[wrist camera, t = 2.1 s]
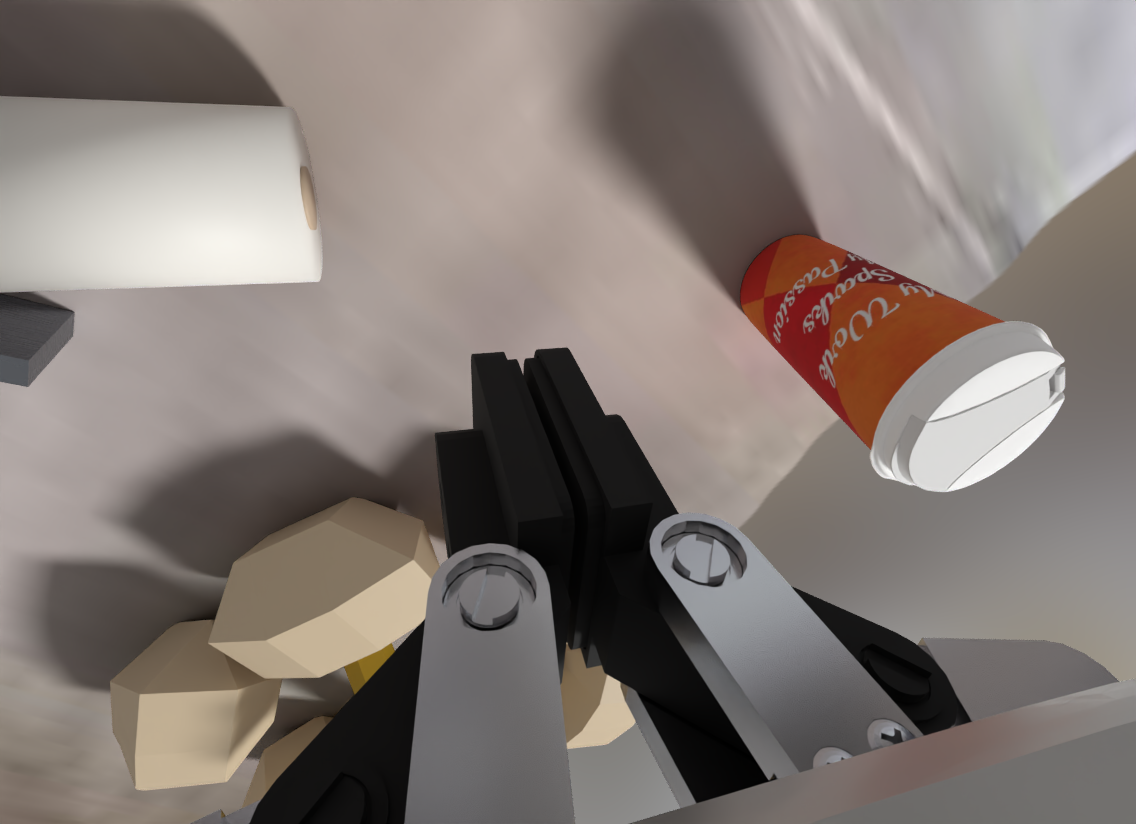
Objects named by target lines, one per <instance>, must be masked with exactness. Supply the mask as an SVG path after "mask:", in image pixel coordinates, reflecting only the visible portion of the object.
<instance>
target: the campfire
mask: <svg viewBox="0 0 1136 824" xmlns="http://www.w3.org/2000/svg"><path fill="white" fill-rule="evenodd" d="M439 567H440V566H439V563H438V560H437V558H436V555H435V552H434V549H433V547H432V544H431V541H430V538H429V536H428V533H427V530H426V527H425V525H424V522H423V520H420V519H417V518H414V517H412V516H409V515H406V514H404V513H401V512H398V511H395V510H393V509H390V508H387V507H384V506H382V505H379V504H376V503H374V502H371V501H368V500H365V499H361V498H355V497H351V498H349V499H347V500H345V501H343V502H340V503H338V504H336V505H334V506H332V507H329V508H327V509H325V510H323V511H320V512H318V513H316V514H314V515H312V516H309V517H307V518H305V519H303V520H301V521H298V522H296V523H294V524H292V525H289V526H287V527H285V528H283V529H281V530H278V531H276V532H274V533H272V534H270V535H268V536H267V537H266V538H264V539H263V540H262V541H260V542H259V543H258V544H257V545H255V546H254V547H253V548H252V549H250V550H249V551H248V552H246V553H245V554H244V555H243V556H241V557H240V558H239V559H238V560H236V561H235V562H234V563H233V565H232V568H231V571H230V574H229V578H228V581H227V584H226V587H225V590H224V593H223V597H222V600H221V603H220V606H219V609H218V612H217V616H216V619H215V620H201V621H189V622H179V623H177V624H175V625H173V626H171V627H170V628H169V629H168V630H166V631H165V632H164V633H163V634H162V635H161V636H160V637H159V638H158V639H156V640H155V641H154V642H153V643H152V644H151V645H150V646H149V647H148V648H146V649H145V650H144V651H143V652H142V653H141V654H140V655H139V656H138V657H136V658H135V659H134V660H133V661H132V662H131V663H130V664H129V665H128V666H126V667H125V668H124V669H123V670H122V671H121V672H120V673H119V674H118V675H116V676H115V677H114V678H113V679H112V680H111V681H110V691H111V708H112V726H113V733H114V735H115V737H116V739H117V741H118V743H119V745H120V747H121V750H122V752H123V755H124V758H125V761H126V763H127V766H128V769H129V772H130V774H131V777H132V780H133V783H134V786H135V788H136V789H138V790H154V789H163V788H173V787H183V786H192V785H202V784H212V783H221V782H227V781H228V779H229V778H230V777H231V776H232V774H233V773H234V772H235V771H236V769H237V768H238V767H239V765H240V764H241V763H242V762H243V760H244V759H245V758H246V756H247V755H248V754H249V753H250V751H251V750H252V749H253V748H254V746H255V745H256V744H257V742H258V741H259V740H260V739H261V737H262V736H263V735H264V733H265V732H266V731H267V730H268V728H269V727H270V726H271V725H272V723H273V722H274V718H275V713H276V708H277V703H278V698H279V693H280V687H281V682H282V678H320V677H322V676H324V675H326V674H328V673H331V672H333V671H335V670H337V669H339V668H342V667H344V668H345V671H346V673H347V676H348V679H349V681H350V684H351V687H352V690H353V692H354V695H355V694H356V693H357V692H358V691H359V690H360V688H361V687H362V686H363V685H364V684H365V683H366V682H367V681H368V680H369V679H370V678H371V677H372V675H373V674H374V673H375V672H376V671H377V670H378V669H379V668H380V667H381V666H382V665H383V664H384V662H385V661H386V660H387V659H388V658H389V657H390V656H391V655H392V654H393V653H394V652H395V651H394V648H393V645H392V642H393V641H395V640H397V639H398V638H400V637H401V636H403V635H404V634H406V633H407V632H409V631H410V630H412V629H414V628H415V627H417V626H418V625H420V624H421V622H422V621H423V620H424V619H425V616H426V606H427V596H428V590H429V587H430V584H431V580H432V577H433V576H434V574H435V573H436V571H437V570H438V569H439ZM560 687H561V696H562V706H563V715H564V724H565V733H566V743H567V749H569V748H579V747H588V746H597V745H606V744H608V743H610V742H611V741H613V740H614V739H615V738H617V737H618V736H620V735H621V734H622V733H624V732H625V731H626V730H628V729H629V728H631V727H632V726H633V725H634V723H635V722H636V721H635V719H634V717H633V715H632V713H631V711H630V709H629V707H628V706H627V704H626V702H625V699H624V696H623V693H622V690H621V688H620V682H619V681H618V680H616V679H614V678H612V677H610V676H609V675H607V674H605V673H604V671H603V668H602V665H600V666H596V667H591V668H586V665H585V662H584V659H583V655H582V652H581V649H580V648H579V649H574V650H571V649H570V648H569V646H568V644H567V643H566V652H565V661H564V669H563V678H562V683H561V685H560ZM332 719H333V718H332V717H326V716H320V717H317V718H314V719H312V720H310V721H309V722H307V723H306V724H304V725H303V726H301V727H299V728H298V729H296V730H295V731H293V732H291V733H290V734H288V735H287V736H285V737H283V738H282V739H280V740H279V741H277V742H275V743H274V744H272V745H271V746H269V747H267V748H266V749H264V751H263V753H262V756H261V758H260V761H259V764H258V766H257V769H256V772H255V774H254V777H253V779H252V782H251V785H250V787H249V790H248V793H247V795H246V798H245V800H244V803H243V806H242V808H244V807H246V806H248V805H250V804H252V803H254V802H256V801H258V800H261V799H262V798H263V797H264V795H265V794H266V792H267V791H268V790H269V788H270V787H271V786H272V784H273V783H274V782H275V780H276V779H277V778H278V777H279V776H280V775H281V774H282V773H283V772H284V771H285V769H286V768H287V767H288V766H289V765H290V764H291V763H292V762H293V761H294V760H295V759H296V758H297V757H298V755H299V754H300V753H301V752H302V751H303V750H304V749H305V748H306V747H307V746H308V745H309V744H310V742H311V741H312V740H313V739H314V738H315V737H316V736H317V735H318V734H319V733H320V732H321V731H322V729H323V728H324V727H325V726H326V725H327V724H328V723H329V722H330V721H331V720H332ZM242 808H241V809H242Z"/></svg>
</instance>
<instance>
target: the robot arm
mask: <svg viewBox="0 0 1136 824" xmlns="http://www.w3.org/2000/svg"><path fill="white" fill-rule="evenodd" d="M471 374H472V404H473V429H469V430H459V431H449V432H439V433H435V442H436V455H437V467H438V478H439V488H440V498H441V507H442V516H443V524H444V532H445V540H446V548H447V556H448V559H447V560H446V561H445V562H443V563H442V564H441V566H440V567H439V569H438V570H437V571H436V573H435V574H434V576H433V577H432V580H431V584H430V587H429V590H428V596H427V606H426V616H425V619H424V620H423V621H422V622H421V624H420V625H419V626H418V627H417V628H416V629H415V630H414V631H413V632H412V633H411V634H410V635H409V637H408V638H407V639H406V640H405V641H404V642H403V643H402V644H401V645H400V646H399V647H398V648H397V650H396V651H395V652H394V653H393V654H392V655H391V656H390V657H389V658H388V659H387V660H386V661H385V662H384V664H383V665H382V666H381V667H380V668H379V669H378V670H377V671H376V672H375V673H374V674H373V675H372V677H371V678H370V679H369V680H368V681H367V682H366V683H365V684H364V685H363V686H362V687H361V688H360V690H359V691H358V692H357V693H356V694H355V695H354V696H353V697H352V698H351V699H350V700H349V701H348V702H347V704H346V705H345V706H344V707H343V708H342V709H341V710H340V711H339V712H338V713H337V714H336V715H335V717H334V718H333V719H332V720H331V721H330V722H329V723H328V724H327V725H326V726H325V727H324V728H323V729H322V731H321V732H320V733H319V734H318V735H317V736H316V737H315V738H314V739H313V740H312V741H311V742H310V744H309V745H308V746H307V747H306V748H305V749H304V750H303V751H302V752H301V753H300V754H299V755H298V757H297V758H296V759H295V760H294V761H293V762H292V763H291V764H290V765H289V766H288V767H287V768H286V769H285V771H284V772H283V773H282V774H281V775H280V776H279V777H278V778H277V779H276V780H275V782H274V783H273V784H272V786H271V787H270V788H269V790H268V791H267V792H266V794H265V795H264V797H263V798H262V799H261V800H258V801H256V802H254V803H252V804H250V805H248V806H246V807H244V808H242V809H240V810H237V811H235V812H233V813H231V814H229V815H227V816H225V815H224V813H223V812H222V810H221V809H220V810H218V811H216V812H214V813H211V814H209V815H207V816H205V817H203V818H201V819H199V820H197V821H194V822H192V823H190V824H575V817H574V807H573V798H572V789H571V780H570V770H569V761H568V752H567V743H566V733H565V724H564V715H563V706H562V696H561V687H560V685H561V683H562V678H563V669H564V661H565V652H566V643H567V644H568V646H569V648H570V649H571V650H574V649H579V648H580V649H581V652H582V655H583V659H584V662H585V665H586V668H591V667H596V666H600V665H602V668H603V671H604V673H605V674H607V675H609V676H610V677H612V678H614V679H616V680H618V681H619V682H620V688H621V690H622V693H623V696H624V699H625V702H626V704H627V706H628V707H629V709H630V711H631V713H632V715H633V717H634V719H635V721H636V723H637V725H638V727H639V729H640V730H641V733H642V734H643V736H644V738H645V740H646V742H647V744H648V746H649V748H650V750H651V752H652V754H653V756H654V758H655V760H656V762H657V763H658V765H659V767H660V769H661V771H662V773H663V775H664V777H665V779H666V781H667V783H668V785H669V787H670V789H671V791H672V792H673V794H674V797H675V798H676V800H677V802H678V804H679V806H680V809H677V810H673V811H670V812H667V813H664V814H660V815H657V816H654V817H650V818H647V819H643V820H640V821H637V822H633V823H630V824H1136V679H1131V680H1126V681H1121V682H1119V681H1118V680H1117V679H1116V678H1115V677H1114V676H1113V675H1112V674H1111V673H1110V672H1109V671H1108V670H1107V669H1106V668H1105V667H1103V666H1102V665H1101V664H1099V663H1098V662H1096V661H1094V660H1093V659H1092V658H1090V657H1089V656H1087V655H1086V654H1084V653H1082V652H1080V651H1078V650H1075V649H1073V648H1071V647H1069V646H1066V645H1064V644H1061V643H1055V642H1050V641H1044V640H1043V641H1042V640H999V639H954V638H922V639H921V640H920V642H919V643H918V645H916V644H915V643H913V642H912V641H910V640H908V639H907V638H904V637H903V636H901V635H899V634H898V633H896V632H893V631H891V630H889V629H887V628H884V627H882V626H880V625H877V624H875V623H873V622H871V621H868V620H866V619H864V618H862V617H860V616H857V615H855V614H853V613H850V612H848V611H846V610H844V609H841V608H839V607H837V606H835V605H832V604H830V603H828V602H825V601H823V600H821V599H819V598H817V597H814V596H812V595H810V594H808V593H805V592H803V591H801V590H799V589H796V588H794V587H792V586H790V585H789V584H788V583H787V582H786V581H785V579H784V578H783V577H782V576H781V575H780V574H779V573H778V571H777V570H775V568H774V567H773V566H772V565H771V564H770V563H769V561H768V560H767V559H766V558H765V557H764V556H763V555H762V554H761V552H760V551H759V550H758V549H757V548H756V547H755V546H754V545H753V544H752V542H751V541H750V540H749V539H748V538H747V537H746V536H745V535H744V534H743V533H741V532H740V531H739V530H738V529H737V528H736V527H734V526H732V525H731V524H729V523H727V522H725V521H723V520H722V519H719V518H716V517H713V516H710V515H706V514H699V513H683V514H679V513H678V512H677V510H676V508H675V507H674V505H673V503H672V501H671V500H670V498H669V496H668V495H667V493H666V491H665V489H664V488H663V486H662V484H661V483H660V481H659V479H658V478H657V476H656V474H655V472H654V471H653V469H652V467H651V466H650V464H649V462H648V460H647V459H646V457H645V455H644V454H643V452H642V450H641V448H640V447H639V445H638V443H637V442H636V440H635V438H634V437H633V435H632V433H631V431H630V430H629V428H628V426H627V425H626V423H625V421H624V420H623V419H622V417H621V416H619V415H617V414H615V415H605V414H604V412H603V410H602V408H601V406H600V405H599V403H598V401H597V399H596V397H595V396H594V394H593V392H592V390H591V388H590V386H589V385H588V383H587V381H586V379H585V377H584V375H583V374H582V372H581V370H580V368H579V366H578V364H577V363H576V361H575V359H574V357H573V355H572V354H571V352H570V350H569V349H568V348H553V349H538V350H536V351H535V355H534V358H526V359H525V361H524V376H523V373H522V371H521V368H520V366H519V363H518V361H517V359H513V360H507V358H506V355H505V353H504V352H495V353H481V354H472V356H471Z"/></svg>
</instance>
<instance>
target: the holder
mask: <svg viewBox="0 0 1136 824" xmlns="http://www.w3.org/2000/svg"><path fill="white" fill-rule="evenodd" d="M73 326H74V312H71V311H67V310H63V309H59V308H55V307H51V306H47V305H43V304H39V303H35V302H31V301H27V300H23V299H19V298H15V297H11V296H7V295H3V294H0V382H5V383H10V384H15V385H21V386H26V387H28V386H29V385H30V384H31V383H32V382H33V381H34V380H35V378H36V377H37V376H38V375H39V374H40V373H41V372H42V370H43V369H44V368H45V367H46V366H47V365H48V364H49V363H50V361H51V360H52V359H53V358H54V357H55V356H56V355H57V354H58V352H59V351H60V350H61V349H62V348H63V347H64V346H65V344H66V343H67V342H68V341H69V340H70V339H71V338H72V337H73Z"/></svg>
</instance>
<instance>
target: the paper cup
mask: <svg viewBox="0 0 1136 824" xmlns="http://www.w3.org/2000/svg"><path fill="white" fill-rule="evenodd" d="M740 302H741V306H742V309H743V311H744V313H745V315H746V316H747V317H748V319H749V320H750V321H751V322H752V324H753V325H754V326H755V327H756V328H757V329H758V330H759V331H760V333H761V334H762V335H763V336H764V337H765V338H766V339H767V340H768V341H769V342H770V343H771V345H772V346H773V347H774V348H775V349H776V350H777V351H778V352H779V353H780V354H781V355H782V356H783V357H784V359H785V360H786V361H787V362H788V363H789V364H790V365H791V366H792V367H793V368H794V369H795V370H796V371H797V372H798V373H799V375H800V376H801V377H802V378H803V379H804V380H805V381H806V382H807V383H808V384H809V385H810V386H811V387H812V388H813V389H814V390H815V391H816V393H817V394H818V395H819V396H820V397H821V398H822V399H823V400H824V401H825V402H826V403H827V404H828V405H829V406H830V407H831V408H832V409H833V411H834V412H835V413H836V414H837V415H838V416H839V417H840V418H841V419H842V420H843V421H844V422H845V423H846V424H847V425H848V426H849V427H850V428H851V430H852V431H853V432H854V433H855V434H856V435H857V436H858V437H859V438H860V439H861V440H862V441H863V442H864V443H865V444H866V445H867V446H868V447H869V448H870V450H871V452H870V460H871V464H872V466H873V468H874V469H875V471H876V472H877V473H878V474H879V475H880V476H881V477H883V478H888V479H893V480H897V481H900V482H902V483H905V484H908V485H917V486H918V487H920V488H922V489H924V490H929V491H939V492H948V491H953V490H957V489H961V488H963V487H966V486H969V485H972V484H974V483H976V482H978V481H980V480H982V479H984V478H986V477H988V476H989V475H991V474H993V473H995V472H996V471H998V470H999V469H1001V468H1002V467H1004V466H1005V465H1007V464H1008V463H1009V462H1011V461H1012V460H1013V459H1015V458H1016V457H1017V456H1019V455H1020V454H1021V453H1022V452H1023V451H1024V450H1026V449H1027V448H1028V447H1029V446H1030V445H1031V444H1032V443H1033V442H1034V441H1035V440H1036V439H1037V438H1038V437H1039V436H1040V434H1041V433H1042V432H1043V431H1044V430H1045V429H1046V428H1047V426H1048V425H1049V423H1050V422H1051V421H1052V419H1053V418H1054V417H1055V415H1056V414H1057V412H1058V410H1059V408H1060V407H1061V405H1062V403H1063V401H1064V398H1065V397H1064V394H1063V393H1062V391H1063V390H1064V388H1065V367H1061V368H1060V364H1061V363H1063V362H1064V358H1063V357H1062V356H1061V355H1060V354H1059V353H1058V352H1057V351H1056V350H1055V349H1053V347H1052V344H1051V342H1050V340H1049V338H1048V336H1047V334H1045V332H1044V331H1043V330H1042V329H1041V328H1039V327H1037V326H1035V325H1033V324H1031V323H1026V322H1021V321H1008V322H1004V321H1002V320H1000V319H998V318H996V317H993V316H991V315H989V314H987V313H984V312H982V311H980V310H978V309H976V308H973V307H971V306H969V305H967V304H965V303H962V302H960V301H958V300H956V299H953V298H951V297H949V296H947V295H945V294H942V293H940V292H938V291H936V290H933V289H931V288H929V287H927V286H925V285H922V284H920V283H918V282H916V281H914V280H911V279H909V278H907V277H905V276H902V275H900V274H898V273H896V272H893V271H891V270H889V269H887V268H885V267H882V266H880V265H878V264H876V263H873V262H871V261H869V260H867V259H864V258H862V257H860V256H858V255H855V254H853V253H851V252H848V251H846V250H844V249H842V248H839V247H837V246H835V245H832V244H830V243H827V242H825V241H822V240H820V239H817V238H814V237H811V236H807V235H791V236H787V237H784V238H781V239H779V240H777V241H775V242H774V243H772V244H770V245H769V246H768V247H766V248H765V249H764V250H763V251H762V252H761V253H760V254H759V255H758V256H757V257H756V258H755V259H754V260H753V262H752V263H751V265H750V266H749V268H748V270H747V272H746V274H745V276H744V278H743V281H742V285H741V290H740Z"/></svg>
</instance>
